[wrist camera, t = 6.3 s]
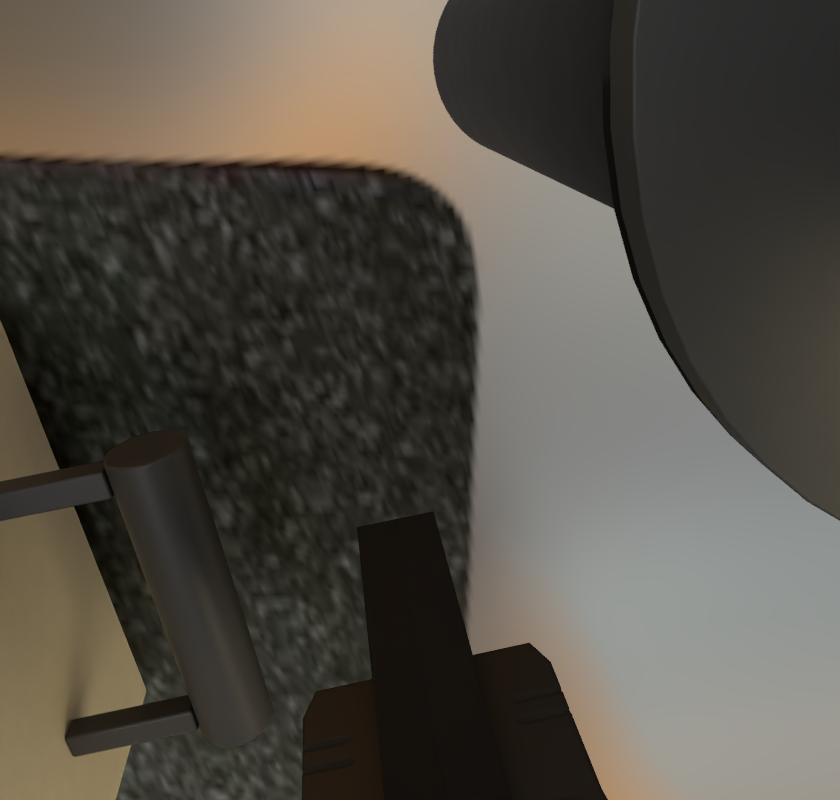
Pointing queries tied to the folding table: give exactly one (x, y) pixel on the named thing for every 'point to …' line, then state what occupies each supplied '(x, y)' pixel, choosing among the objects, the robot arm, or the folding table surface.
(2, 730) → the drawer
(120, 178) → the folding table surface
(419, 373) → the folding table surface
